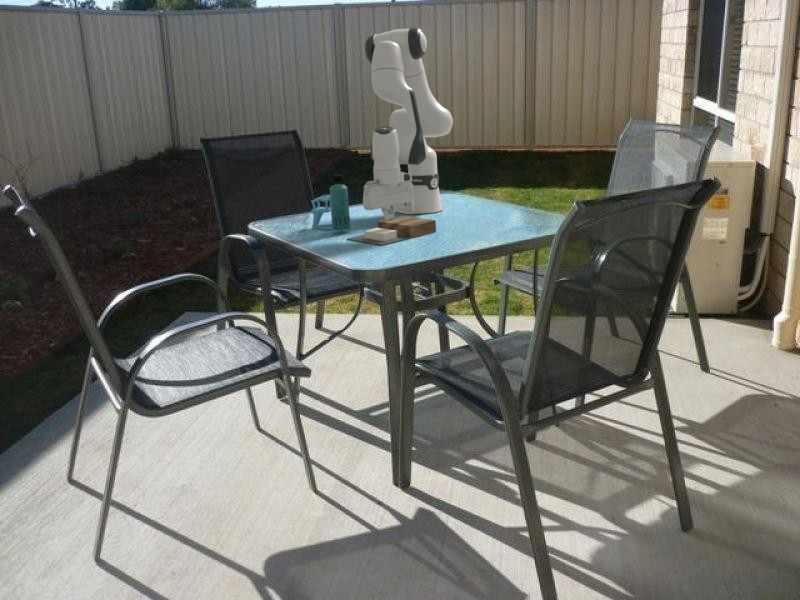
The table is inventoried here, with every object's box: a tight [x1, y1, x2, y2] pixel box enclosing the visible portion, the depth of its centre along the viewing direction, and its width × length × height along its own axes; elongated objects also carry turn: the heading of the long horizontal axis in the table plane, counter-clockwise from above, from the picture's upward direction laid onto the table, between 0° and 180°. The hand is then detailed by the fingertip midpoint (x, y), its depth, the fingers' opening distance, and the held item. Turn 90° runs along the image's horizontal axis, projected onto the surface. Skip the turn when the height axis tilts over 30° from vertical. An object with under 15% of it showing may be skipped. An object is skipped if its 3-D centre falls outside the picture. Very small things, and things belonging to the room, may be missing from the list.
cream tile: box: [364, 227, 397, 241], centre depth 272 cm, size 9×6×2 cm, turn 47°
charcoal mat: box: [346, 233, 412, 247], centre depth 272 cm, size 17×13×1 cm
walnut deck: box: [376, 215, 437, 239], centre depth 280 cm, size 16×12×4 cm
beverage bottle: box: [329, 174, 351, 231], centre depth 283 cm, size 6×7×20 cm
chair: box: [310, 194, 334, 231], centre depth 293 cm, size 8×8×12 cm
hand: (389, 219), depth 274 cm, fingers closed
